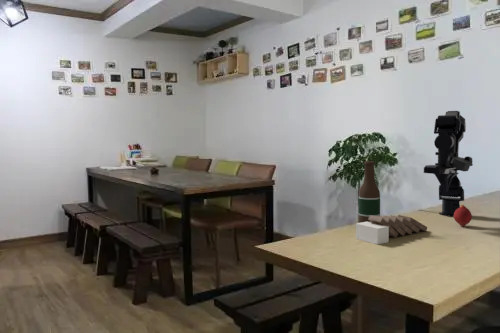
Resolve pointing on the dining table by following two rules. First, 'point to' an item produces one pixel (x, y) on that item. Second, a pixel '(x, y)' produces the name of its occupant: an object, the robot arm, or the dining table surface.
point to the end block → (372, 232)
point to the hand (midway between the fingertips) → (445, 191)
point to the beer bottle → (368, 195)
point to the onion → (462, 215)
